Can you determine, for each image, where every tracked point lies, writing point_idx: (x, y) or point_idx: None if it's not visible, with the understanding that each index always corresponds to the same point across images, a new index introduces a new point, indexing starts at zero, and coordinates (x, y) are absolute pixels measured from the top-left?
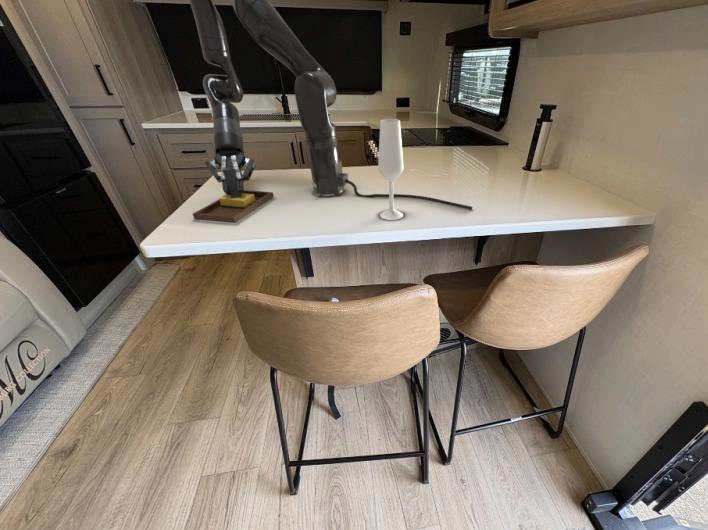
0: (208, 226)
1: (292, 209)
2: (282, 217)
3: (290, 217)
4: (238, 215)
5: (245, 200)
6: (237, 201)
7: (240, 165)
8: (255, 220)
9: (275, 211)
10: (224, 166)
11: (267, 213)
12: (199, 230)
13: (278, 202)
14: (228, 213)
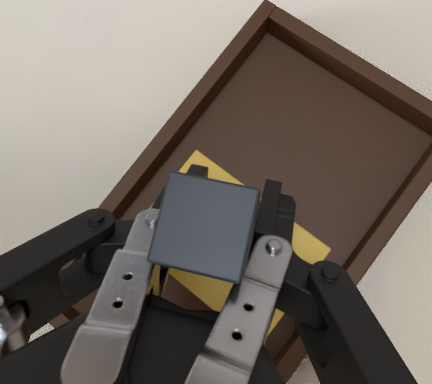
0: (382, 50)
1: (9, 103)
2: (72, 29)
3: (43, 17)
4: (243, 29)
5: (186, 163)
6: (230, 176)
7: (80, 317)
8: (181, 39)
9: (82, 110)
10: (235, 308)
11: (119, 100)
12: (418, 20)
13: (40, 227)
14: (290, 142)
